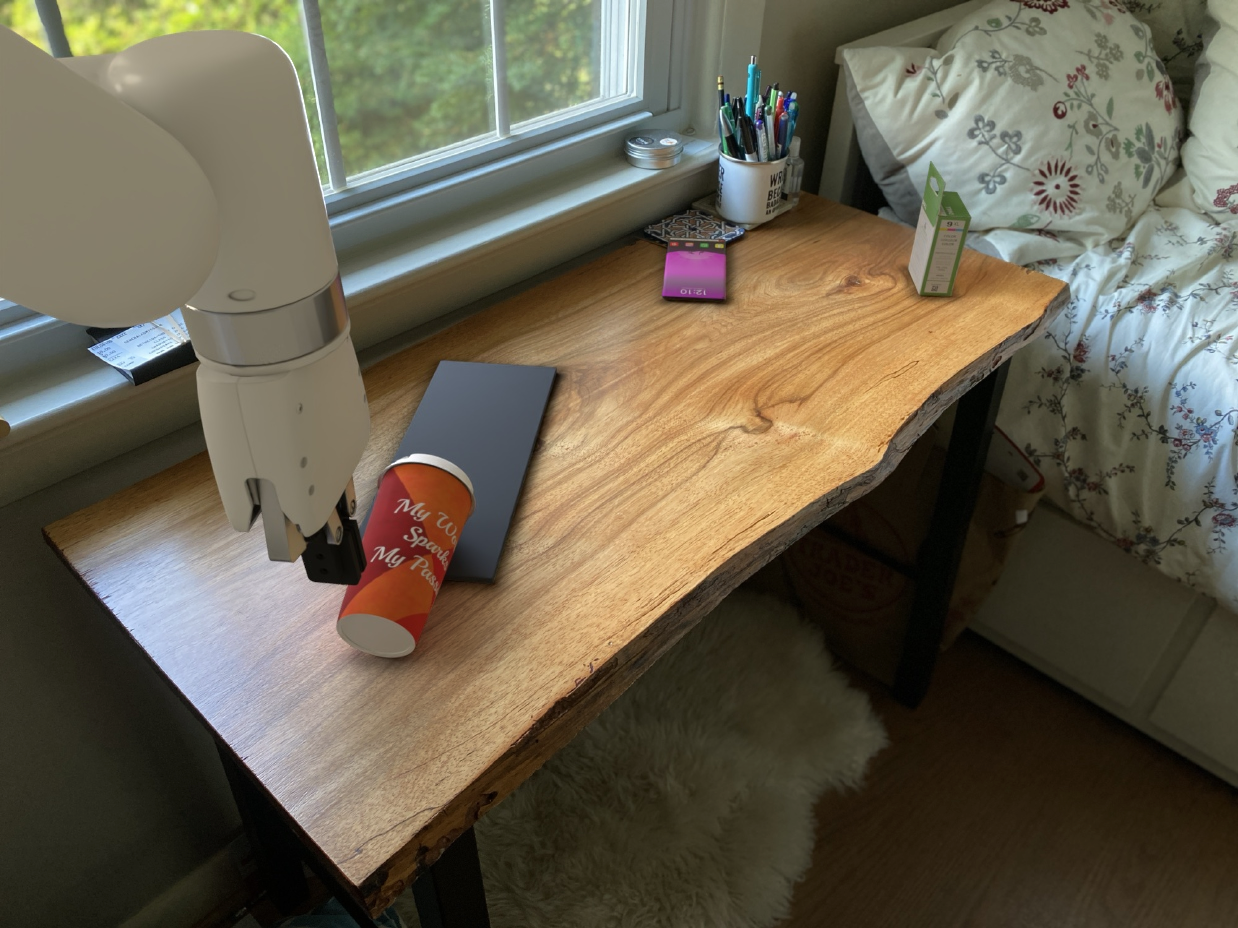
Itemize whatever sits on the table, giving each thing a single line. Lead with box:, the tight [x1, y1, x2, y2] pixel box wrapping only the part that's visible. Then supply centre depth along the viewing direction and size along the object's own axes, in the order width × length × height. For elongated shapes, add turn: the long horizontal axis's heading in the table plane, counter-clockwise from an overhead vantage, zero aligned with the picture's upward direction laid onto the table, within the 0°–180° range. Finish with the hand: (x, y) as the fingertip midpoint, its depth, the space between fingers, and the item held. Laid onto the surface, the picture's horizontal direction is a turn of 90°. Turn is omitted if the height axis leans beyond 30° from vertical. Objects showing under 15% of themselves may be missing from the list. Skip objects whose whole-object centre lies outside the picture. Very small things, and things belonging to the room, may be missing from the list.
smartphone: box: [661, 236, 727, 303], centre depth 111 cm, size 7×15×1 cm, turn 175°
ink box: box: [907, 160, 972, 298], centre depth 105 cm, size 7×4×13 cm, turn 177°
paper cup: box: [335, 454, 475, 658], centre depth 68 cm, size 8×8×14 cm
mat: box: [359, 360, 558, 585], centre depth 83 cm, size 30×12×1 cm, turn 174°
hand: (338, 574), depth 57 cm, fingers closed
